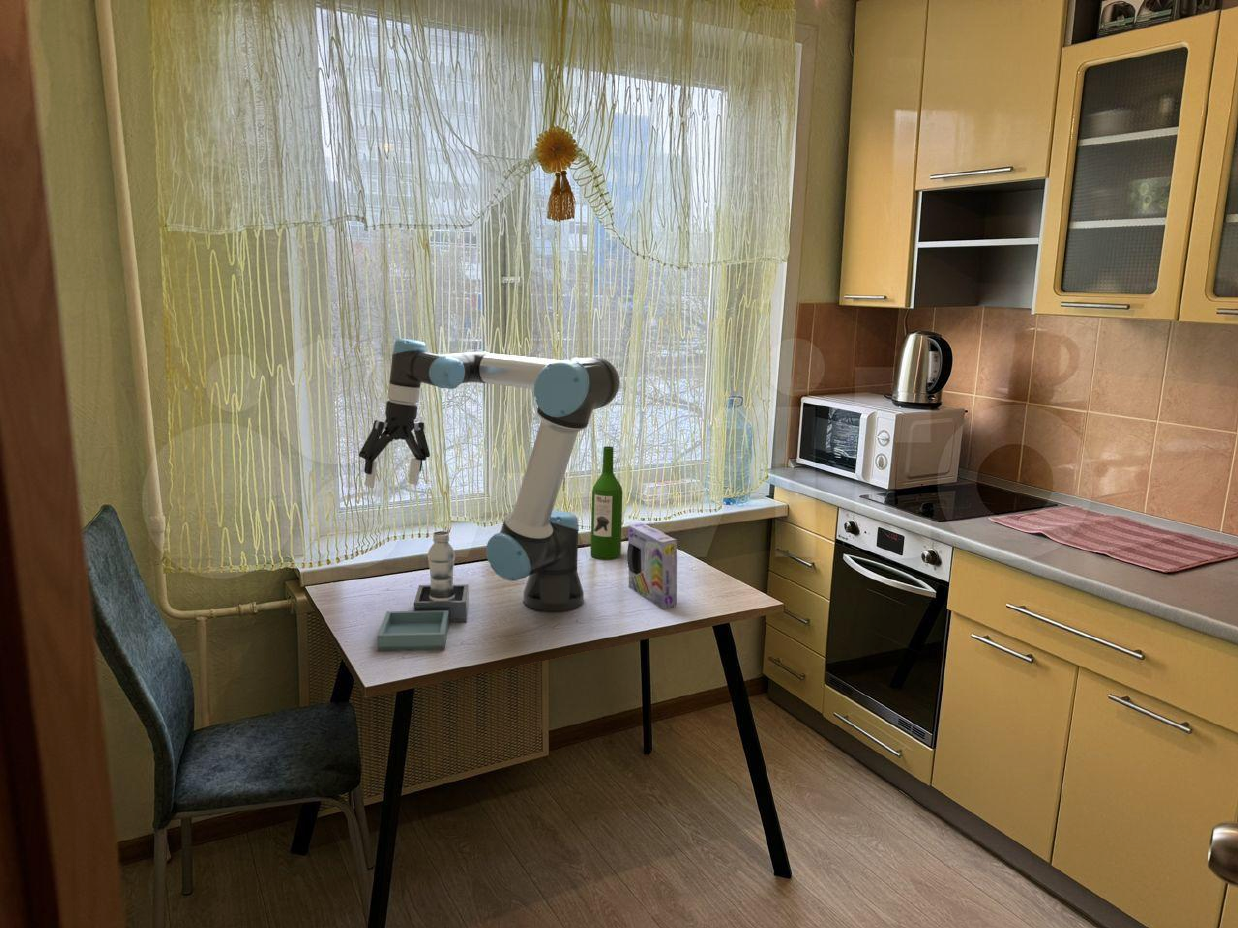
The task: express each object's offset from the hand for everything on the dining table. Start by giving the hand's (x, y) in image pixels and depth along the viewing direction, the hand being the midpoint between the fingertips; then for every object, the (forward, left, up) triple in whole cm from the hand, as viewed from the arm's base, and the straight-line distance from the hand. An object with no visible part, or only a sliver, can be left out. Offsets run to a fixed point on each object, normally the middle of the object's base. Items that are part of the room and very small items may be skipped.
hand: (391, 485), depth 217 cm
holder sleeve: (-13, +18, -27) cm, 35 cm away
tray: (-8, +32, -27) cm, 43 cm away
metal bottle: (-13, +18, -28) cm, 35 cm away
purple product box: (-65, +9, -28) cm, 72 cm away
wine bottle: (-57, -25, -28) cm, 69 cm away
